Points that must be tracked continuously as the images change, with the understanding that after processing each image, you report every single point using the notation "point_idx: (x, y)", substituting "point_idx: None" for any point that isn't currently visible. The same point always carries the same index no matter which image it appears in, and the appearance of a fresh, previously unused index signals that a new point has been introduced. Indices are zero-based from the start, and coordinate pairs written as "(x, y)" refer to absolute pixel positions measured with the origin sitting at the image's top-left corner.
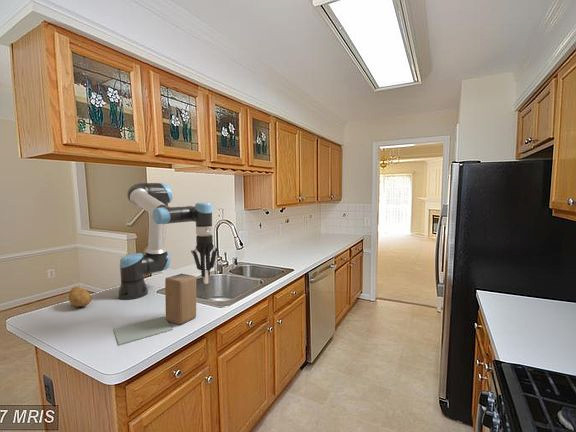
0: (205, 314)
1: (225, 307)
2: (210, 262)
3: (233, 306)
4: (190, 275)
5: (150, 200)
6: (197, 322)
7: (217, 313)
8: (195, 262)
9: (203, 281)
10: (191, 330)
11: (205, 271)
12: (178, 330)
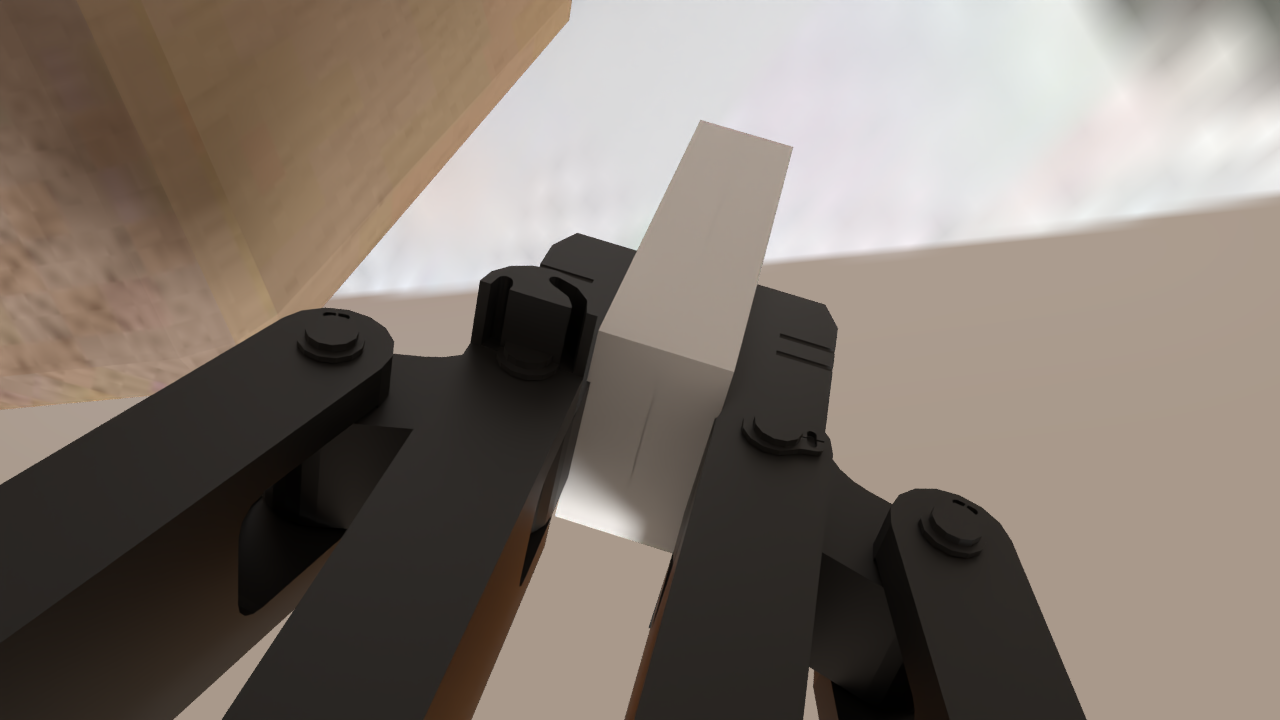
0: (742, 30)
1: (1162, 82)
2: (914, 700)
3: (1275, 169)
4: (97, 231)
5: None
6: (508, 160)
7: (884, 161)
8: (11, 485)
9: (690, 142)
10: (357, 273)
11: (576, 502)
12: None
